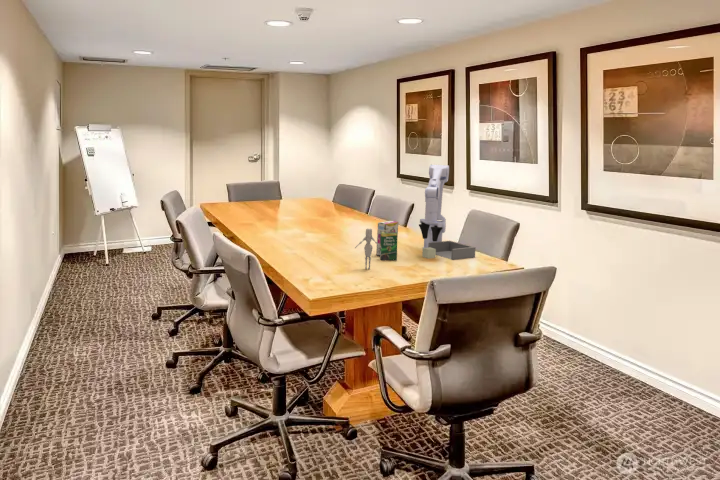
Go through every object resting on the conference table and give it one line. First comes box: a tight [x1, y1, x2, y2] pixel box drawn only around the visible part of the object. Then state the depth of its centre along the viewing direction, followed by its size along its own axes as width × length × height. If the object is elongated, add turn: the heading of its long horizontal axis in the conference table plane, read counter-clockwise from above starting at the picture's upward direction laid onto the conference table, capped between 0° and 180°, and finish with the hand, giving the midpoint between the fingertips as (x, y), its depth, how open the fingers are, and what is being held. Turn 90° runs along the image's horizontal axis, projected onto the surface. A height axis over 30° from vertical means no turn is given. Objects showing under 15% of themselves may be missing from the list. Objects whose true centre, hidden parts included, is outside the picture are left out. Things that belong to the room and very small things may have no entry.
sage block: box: [422, 247, 437, 259], centre depth 270 cm, size 4×4×5 cm
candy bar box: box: [375, 220, 399, 257], centre depth 275 cm, size 11×5×16 cm, turn 141°
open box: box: [428, 240, 476, 261], centre depth 277 cm, size 19×14×6 cm
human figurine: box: [354, 228, 381, 270], centre depth 243 cm, size 12×4×18 cm, turn 96°
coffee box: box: [379, 232, 398, 261], centre depth 263 cm, size 8×3×13 cm, turn 92°
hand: (429, 239), depth 269 cm, fingers open, 7 cm apart
